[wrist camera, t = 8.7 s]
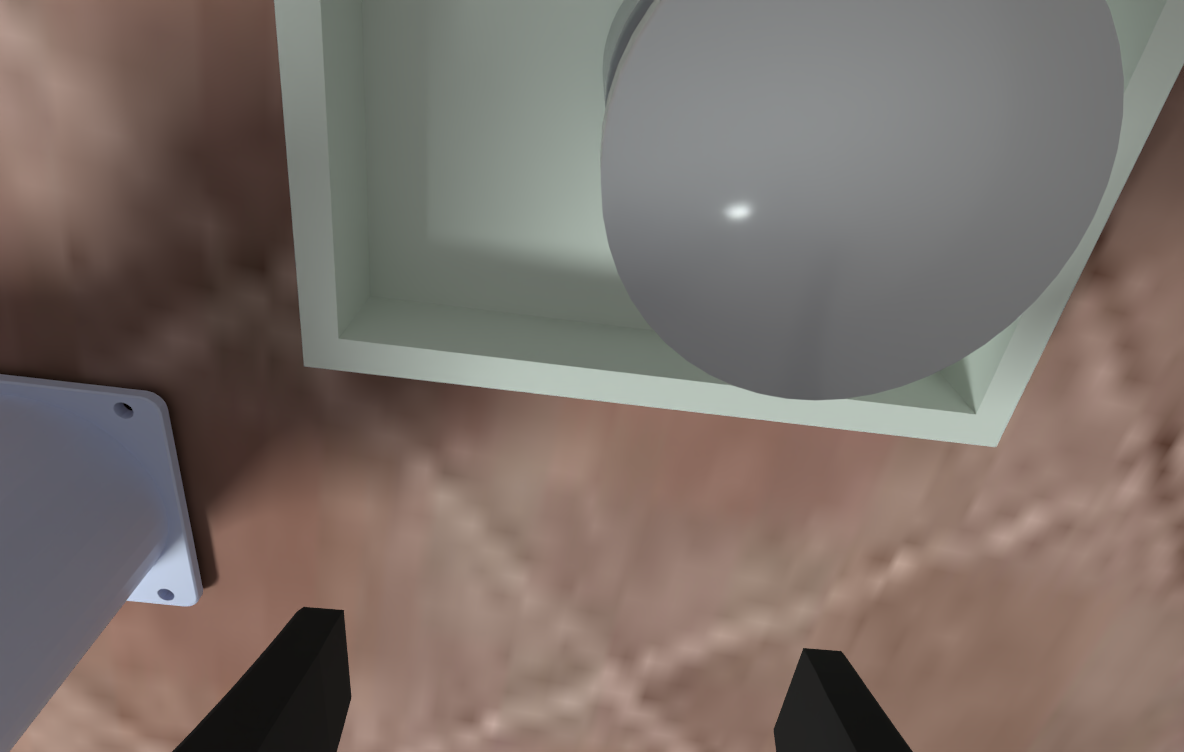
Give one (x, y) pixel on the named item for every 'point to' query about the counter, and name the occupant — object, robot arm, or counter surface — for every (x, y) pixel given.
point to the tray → (560, 215)
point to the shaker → (850, 177)
